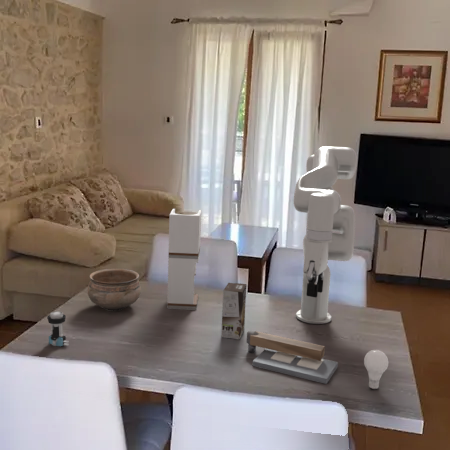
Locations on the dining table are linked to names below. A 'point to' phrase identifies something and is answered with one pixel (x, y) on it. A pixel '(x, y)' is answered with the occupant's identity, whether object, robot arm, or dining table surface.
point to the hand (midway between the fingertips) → (314, 293)
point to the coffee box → (233, 310)
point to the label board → (296, 365)
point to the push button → (56, 329)
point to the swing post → (251, 348)
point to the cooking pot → (114, 288)
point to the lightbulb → (375, 366)
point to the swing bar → (286, 345)
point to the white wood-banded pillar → (183, 259)
